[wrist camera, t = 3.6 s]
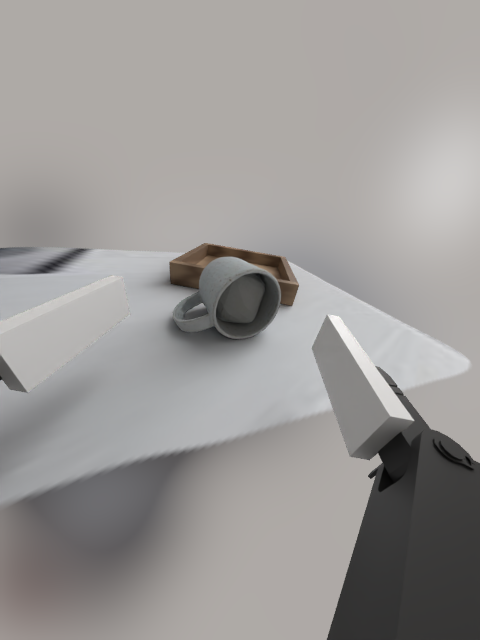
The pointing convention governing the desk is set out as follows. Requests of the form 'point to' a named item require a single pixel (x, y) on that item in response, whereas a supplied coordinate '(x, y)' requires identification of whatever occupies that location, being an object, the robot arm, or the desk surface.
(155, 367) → the desk surface
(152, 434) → the desk surface
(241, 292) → the ceramic mug
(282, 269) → the walnut tray
